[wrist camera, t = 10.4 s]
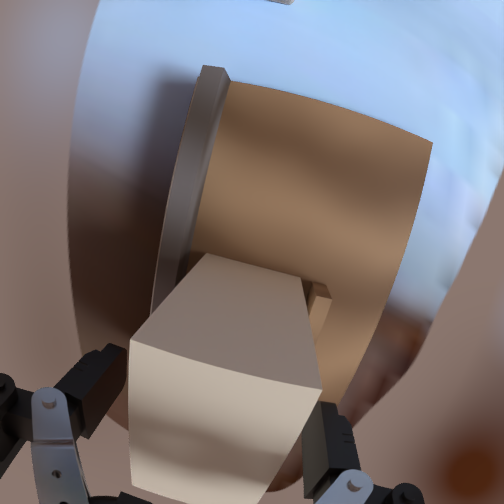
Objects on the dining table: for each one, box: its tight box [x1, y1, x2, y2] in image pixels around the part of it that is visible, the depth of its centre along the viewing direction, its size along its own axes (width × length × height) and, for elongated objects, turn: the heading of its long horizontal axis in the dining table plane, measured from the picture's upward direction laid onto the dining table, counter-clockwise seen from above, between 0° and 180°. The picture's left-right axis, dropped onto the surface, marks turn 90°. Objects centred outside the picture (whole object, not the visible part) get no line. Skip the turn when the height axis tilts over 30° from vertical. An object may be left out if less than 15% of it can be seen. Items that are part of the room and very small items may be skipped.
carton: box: [128, 253, 322, 504], centre depth 12 cm, size 5×8×9 cm, turn 166°
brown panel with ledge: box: [150, 65, 433, 406], centre depth 15 cm, size 17×12×4 cm
